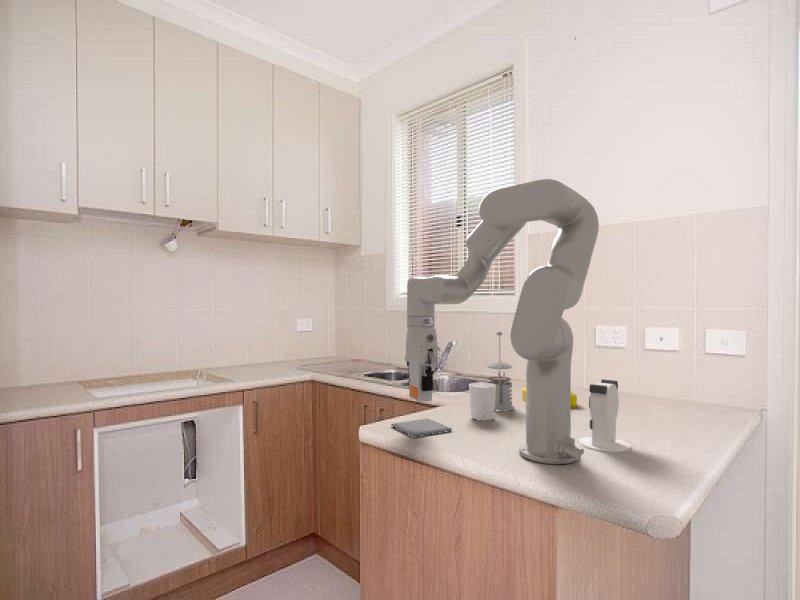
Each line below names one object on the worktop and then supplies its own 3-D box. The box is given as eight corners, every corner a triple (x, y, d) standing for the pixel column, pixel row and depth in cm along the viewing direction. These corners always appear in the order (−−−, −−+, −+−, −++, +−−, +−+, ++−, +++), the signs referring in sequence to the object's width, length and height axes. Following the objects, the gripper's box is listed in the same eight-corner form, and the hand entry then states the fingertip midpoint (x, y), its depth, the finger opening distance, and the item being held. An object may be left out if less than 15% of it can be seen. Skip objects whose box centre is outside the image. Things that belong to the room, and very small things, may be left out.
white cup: (465, 419, 132) (465, 385, 132) (473, 414, 139) (473, 381, 139) (491, 423, 129) (491, 388, 129) (499, 416, 136) (498, 383, 136)
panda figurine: (588, 434, 117) (588, 376, 117) (636, 443, 110) (636, 381, 110) (572, 445, 108) (572, 383, 108) (624, 455, 101) (623, 388, 101)
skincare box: (408, 397, 125) (408, 354, 125) (422, 396, 126) (422, 353, 126) (418, 402, 119) (418, 357, 119) (432, 400, 121) (432, 356, 121)
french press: (512, 404, 152) (512, 330, 152) (518, 413, 140) (518, 332, 140) (483, 404, 153) (483, 330, 153) (486, 412, 141) (486, 332, 141)
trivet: (451, 431, 120) (451, 428, 120) (413, 437, 114) (413, 434, 114) (427, 421, 131) (427, 418, 131) (391, 426, 125) (391, 423, 125)
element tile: (579, 409, 147) (578, 394, 147) (533, 409, 147) (533, 394, 147) (562, 399, 162) (562, 386, 162) (521, 399, 162) (521, 386, 162)
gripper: (450, 323, 117) (450, 393, 117) (416, 321, 132) (416, 382, 132) (425, 324, 113) (425, 395, 113) (393, 321, 129) (393, 384, 129)
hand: (420, 387), depth 123 cm, fingers closed on skincare box, 6 cm apart
